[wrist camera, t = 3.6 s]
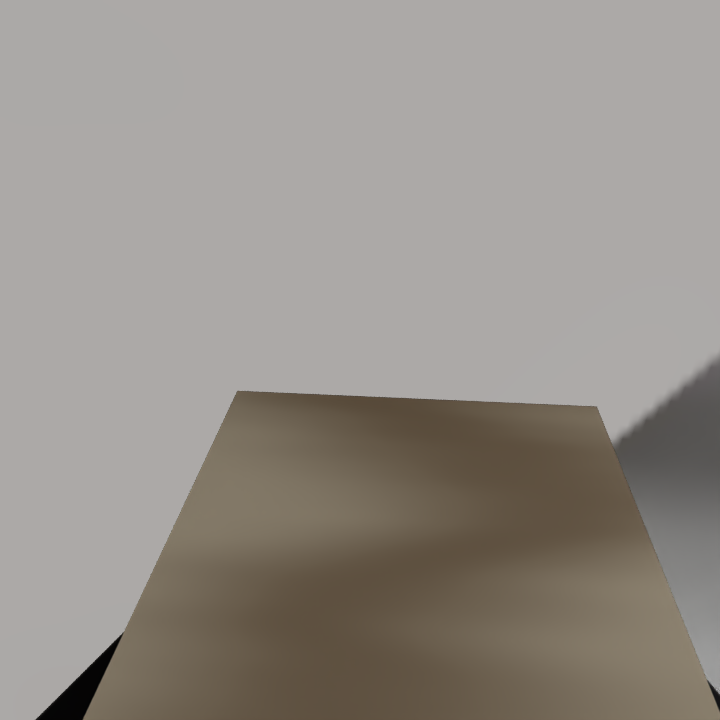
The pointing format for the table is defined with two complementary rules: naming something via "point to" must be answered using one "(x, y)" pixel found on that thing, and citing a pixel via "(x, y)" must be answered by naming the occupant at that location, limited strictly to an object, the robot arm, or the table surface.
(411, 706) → the beige cube
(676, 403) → the table surface
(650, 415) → the table surface
